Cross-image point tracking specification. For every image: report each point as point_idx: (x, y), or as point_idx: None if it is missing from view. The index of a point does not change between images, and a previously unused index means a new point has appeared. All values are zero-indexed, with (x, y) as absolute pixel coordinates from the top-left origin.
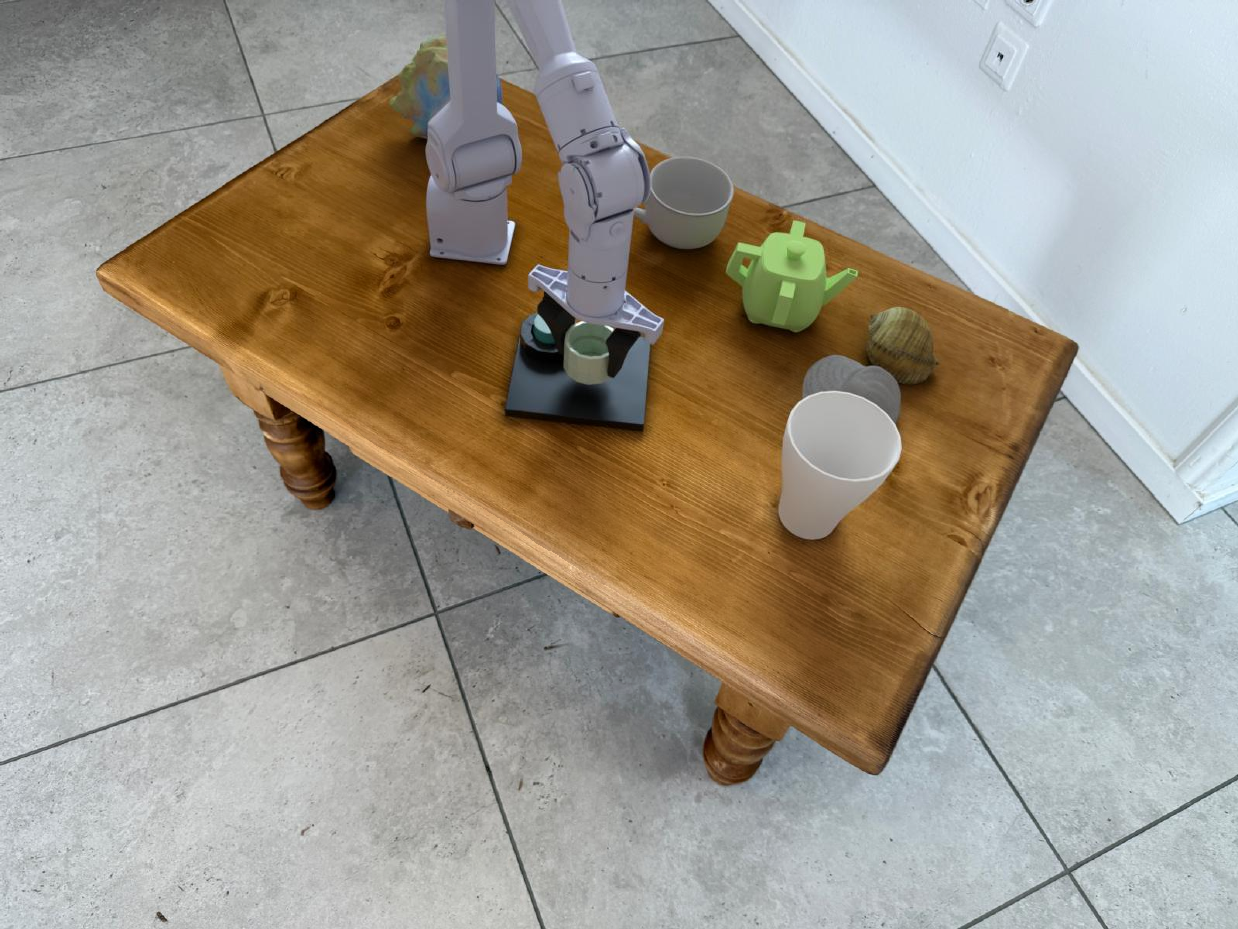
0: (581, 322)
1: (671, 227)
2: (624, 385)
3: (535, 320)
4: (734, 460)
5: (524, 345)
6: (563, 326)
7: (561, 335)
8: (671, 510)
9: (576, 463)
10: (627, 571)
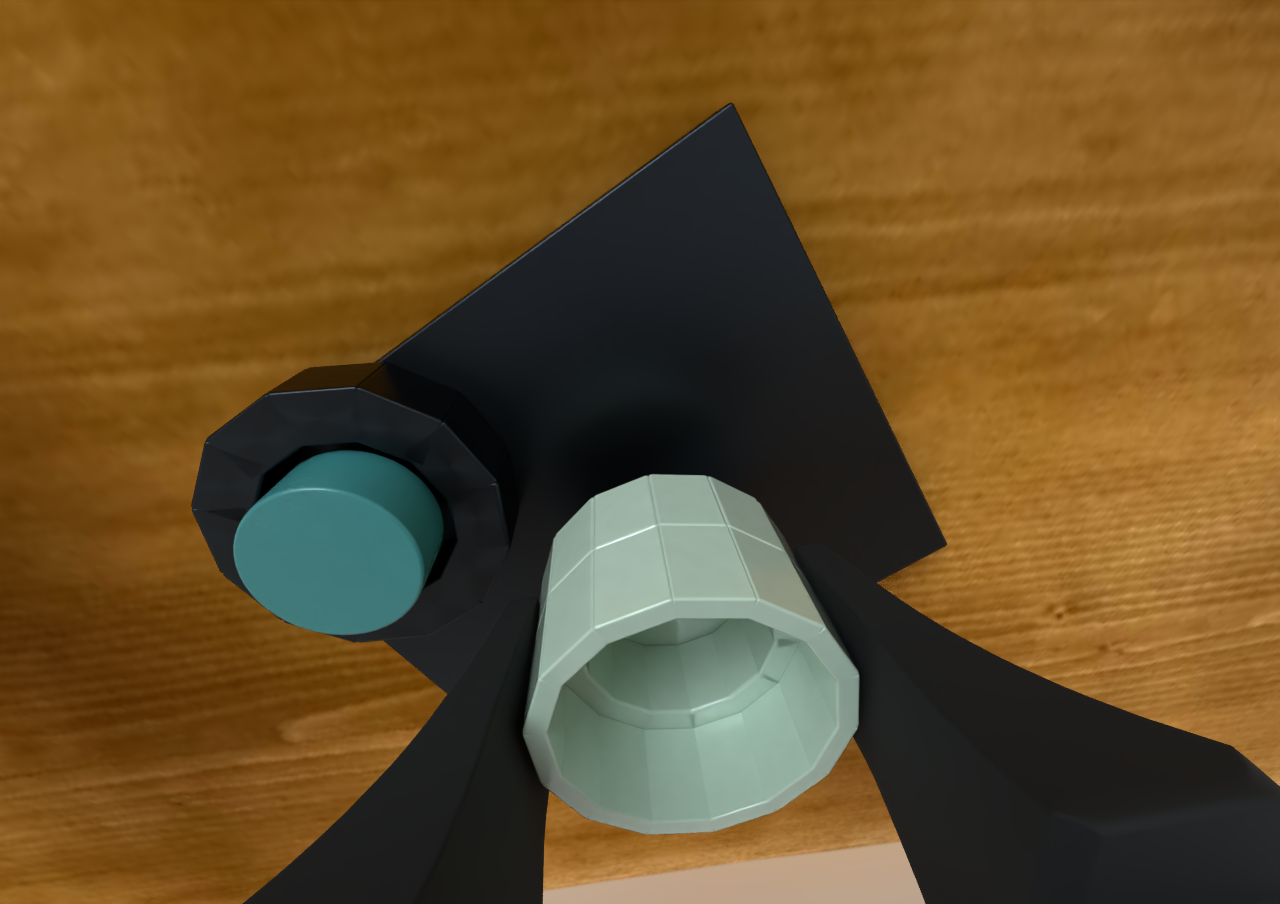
0: (547, 686)
1: None
2: (792, 457)
3: (272, 604)
4: (1265, 410)
5: None
6: (529, 858)
7: (540, 809)
8: (1104, 656)
9: None
10: None
